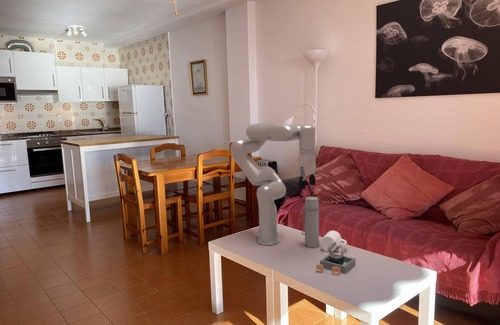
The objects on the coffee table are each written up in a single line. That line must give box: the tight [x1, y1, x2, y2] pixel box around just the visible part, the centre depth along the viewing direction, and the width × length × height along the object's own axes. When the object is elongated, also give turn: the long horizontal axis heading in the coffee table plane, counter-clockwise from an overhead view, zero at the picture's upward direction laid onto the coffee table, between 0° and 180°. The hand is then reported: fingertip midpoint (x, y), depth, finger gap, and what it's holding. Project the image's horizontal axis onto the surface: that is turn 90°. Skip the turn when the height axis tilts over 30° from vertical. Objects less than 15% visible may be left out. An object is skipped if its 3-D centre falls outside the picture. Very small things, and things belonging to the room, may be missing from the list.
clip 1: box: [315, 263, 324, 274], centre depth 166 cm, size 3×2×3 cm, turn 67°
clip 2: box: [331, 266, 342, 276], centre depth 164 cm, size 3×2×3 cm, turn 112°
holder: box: [319, 252, 356, 274], centre depth 172 cm, size 12×11×3 cm
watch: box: [327, 240, 346, 265], centre depth 171 cm, size 6×8×11 cm
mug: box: [320, 230, 348, 253], centre depth 191 cm, size 12×10×8 cm
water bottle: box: [301, 196, 320, 248], centre depth 196 cm, size 9×8×25 cm
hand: (307, 186), depth 183 cm, fingers open, 9 cm apart
